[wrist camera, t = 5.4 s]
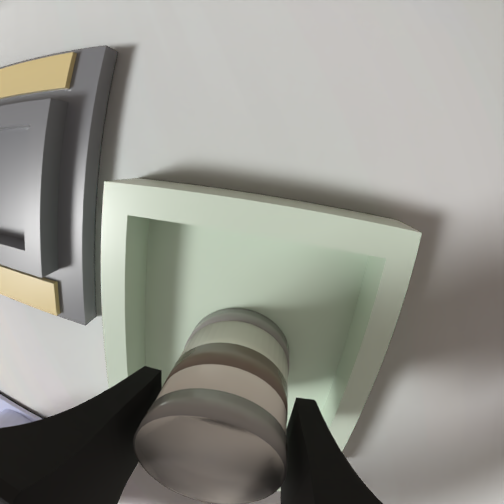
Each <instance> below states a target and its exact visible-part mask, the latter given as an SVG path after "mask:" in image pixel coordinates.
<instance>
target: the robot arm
mask: <svg viewBox="0 0 504 504" xmlns="http://www.w3.org/2000/svg"><path fill="white" fill-rule="evenodd" d="M161 389H162V370H158V369H155V368H151V367H147V366H144V367H142V368H141V369H139V370H137V371H136V372H134V373H133V374H131V375H130V376H128V377H127V378H125V379H124V380H122V381H121V382H119V383H117V384H116V385H114V386H112V387H111V388H109V389H108V390H106V391H104V392H102V393H101V394H99V395H97V396H96V397H94V398H92V399H90V400H88V401H86V402H84V403H82V404H80V405H78V406H76V407H74V408H72V409H69V410H67V411H64V412H62V413H59V414H56V415H54V416H51V417H48V418H44V419H42V418H40V417H38V416H36V415H35V414H33V413H31V412H29V411H27V410H26V409H24V408H22V407H20V406H19V405H17V404H15V403H14V402H12V401H10V400H9V399H7V398H6V397H4V396H2V395H1V394H0V504H117V503H118V501H119V499H120V496H121V494H122V491H123V489H124V487H125V485H126V483H127V481H128V479H129V477H130V476H131V474H132V472H133V470H134V469H135V467H136V465H137V463H138V459H137V457H136V455H135V452H134V448H133V439H134V435H135V433H136V431H137V429H138V427H139V425H140V424H141V422H142V420H143V418H144V416H145V415H146V413H147V411H148V409H149V408H150V406H151V405H152V404H153V402H154V401H155V400H156V399H157V397H158V395H159V393H160V391H161ZM286 437H287V442H288V448H287V472H286V478H285V481H284V483H283V484H282V486H281V504H383V503H382V502H381V501H380V500H379V499H378V498H377V497H376V496H375V495H374V494H373V493H372V492H371V491H370V490H369V489H368V487H367V486H366V485H365V484H364V483H363V481H362V480H361V479H360V478H359V476H358V475H357V474H356V472H355V471H354V470H353V468H352V467H351V465H350V464H349V462H348V461H347V459H346V458H345V456H344V455H343V453H342V451H341V450H340V448H339V446H338V445H337V443H336V441H335V439H334V438H333V436H332V434H331V432H330V430H329V428H328V426H327V424H326V422H325V420H324V418H323V416H322V414H321V412H320V409H319V407H318V405H317V402H316V401H315V400H313V399H305V398H297V397H296V400H295V403H294V406H293V410H292V413H291V416H290V419H289V422H288V425H287V428H286Z"/></svg>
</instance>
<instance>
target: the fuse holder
mask: <svg viewBox="0 0 504 504" xmlns="http://www.w3.org/2000/svg"><path fill="white" fill-rule="evenodd" d="M117 53H118V52H117V51H115V50H113V49H112V48H110V47H108V46H98V47H91V48H84V49H78V50H72V51H67V52H62V53H57V54H52V55H47V56H42V57H38V58H34V59H30V60H26V61H22V62H18V63H15V64H11V65H8V66H4V67H1V68H0V294H2V295H4V296H7V297H9V298H12V299H14V300H17V301H19V302H22V303H24V304H27V305H29V306H32V307H34V308H37V309H40V310H42V311H45V312H48V313H50V314H53V315H56V316H59V317H62V318H65V319H68V320H71V321H74V322H77V323H80V324H83V325H87V324H88V323H89V322H90V321H91V320H93V319H94V318H95V317H96V303H95V269H94V248H95V214H96V196H97V182H98V171H99V161H100V152H101V143H102V136H103V128H104V121H105V115H106V109H107V103H108V97H109V92H110V86H111V81H112V76H113V71H114V67H115V62H116V58H117Z"/></svg>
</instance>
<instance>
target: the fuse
mask: <svg viewBox="0 0 504 504" xmlns="http://www.w3.org/2000/svg"><path fill="white" fill-rule="evenodd" d="M288 375H289V345H288V342H287V339H286V337H285V335H284V333H283V332H282V330H281V329H280V328H279V327H278V326H277V325H276V324H275V323H274V322H273V321H272V320H270V319H269V318H268V317H266V316H264V315H262V314H260V313H258V312H255V311H252V310H249V309H243V308H226V309H221V310H218V311H215V312H213V313H211V314H209V315H207V316H206V317H204V318H203V319H202V320H201V321H200V322H199V323H198V324H197V325H196V327H195V328H194V330H193V332H192V333H191V335H190V337H189V339H188V340H187V342H186V344H185V347H184V350H183V352H182V354H181V356H180V357H179V359H178V361H177V362H176V363H175V365H174V367H173V369H172V370H171V372H170V374H169V376H168V378H167V379H166V381H165V383H164V385H163V387H162V389H161V391H160V393H159V395H158V397H157V399H156V400H155V401H154V402H153V404H152V405H151V406H150V408H149V409H148V411H147V413H146V415H145V416H144V418H143V420H142V422H141V424H140V425H139V427H138V429H137V431H136V433H135V435H134V439H133V448H134V452H135V455H136V457H137V459H138V461H139V463H140V464H141V465H142V467H143V468H144V469H145V470H146V471H147V472H148V474H149V475H151V476H152V477H153V478H154V479H155V480H157V481H158V482H159V483H161V484H162V485H164V486H165V487H167V488H169V489H170V490H172V491H174V492H176V493H179V494H181V495H183V496H186V497H189V498H192V499H195V500H199V501H202V502H207V503H214V504H246V503H251V502H255V501H258V500H261V499H264V498H266V497H268V496H270V495H272V494H273V493H274V492H276V491H277V490H278V489H279V488H280V487H281V486H282V484H283V483H284V481H285V478H286V472H287V448H288V442H287V437H286V425H287V415H288Z"/></svg>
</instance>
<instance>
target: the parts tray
mask: <svg viewBox="0 0 504 504" xmlns="http://www.w3.org/2000/svg"><path fill="white" fill-rule="evenodd" d="M421 235H422V233H421V232H419V231H417V230H416V229H414V228H412V227H410V226H408V225H406V224H404V223H402V222H400V221H398V220H394V219H390V218H385V217H380V216H376V215H371V214H366V213H361V212H356V211H351V210H346V209H341V208H336V207H330V206H325V205H320V204H314V203H308V202H303V201H297V200H291V199H285V198H279V197H273V196H267V195H261V194H255V193H248V192H242V191H235V190H228V189H221V188H214V187H207V186H199V185H192V184H184V183H176V182H167V181H159V180H150V179H141V178H132V179H122V180H113V181H104V190H103V205H102V225H101V304H102V323H103V338H104V350H105V361H106V370H107V379H108V387H109V388H111V387H112V386H114V385H116V384H117V383H119V382H121V381H122V380H124V379H125V378H127V377H128V376H130V375H131V374H133V373H134V372H136V371H137V370H139V369H141V368H142V367H144V366H147V367H151V368H155V369H158V370H162V387H163V385H164V383H165V381H166V379H167V378H168V376H169V374H170V372H171V370H172V369H173V367H174V365H175V363H176V362H177V361H178V359H179V357H180V356H181V354H182V352H183V350H184V347H185V344H186V342H187V340H188V339H189V337H190V335H191V333H192V332H193V330H194V328H195V327H196V325H197V324H198V323H199V322H200V321H201V320H202V319H203V318H204V317H206V316H207V315H209V314H211V313H213V312H215V311H218V310H221V309H226V308H243V309H249V310H252V311H255V312H258V313H260V314H262V315H264V316H266V317H268V318H269V319H270V320H272V321H273V322H274V323H275V324H276V325H277V326H278V327H279V328H280V329H281V330H282V332H283V333H284V335H285V337H286V339H287V342H288V345H289V375H288V415H287V425H288V422H289V419H290V416H291V413H292V410H293V406H294V403H295V400H296V397H297V398H305V399H313V400H315V401H316V402H317V405H318V407H319V409H320V412H321V414H322V416H323V418H324V420H325V422H326V424H327V426H328V428H329V430H330V432H331V434H332V436H333V438H334V439H335V441H336V443H337V445H338V446H339V448H340V450H341V451H343V449H344V447H345V445H346V443H347V441H348V439H349V437H350V435H351V433H352V431H353V429H354V427H355V425H356V423H357V421H358V419H359V416H360V414H361V412H362V410H363V408H364V405H365V403H366V401H367V399H368V396H369V394H370V392H371V389H372V387H373V385H374V382H375V380H376V377H377V375H378V372H379V370H380V367H381V365H382V362H383V360H384V357H385V354H386V352H387V349H388V346H389V343H390V341H391V338H392V335H393V332H394V329H395V326H396V323H397V320H398V317H399V314H400V311H401V308H402V305H403V302H404V298H405V295H406V292H407V288H408V285H409V281H410V278H411V274H412V271H413V267H414V263H415V259H416V255H417V251H418V247H419V243H420V239H421ZM287 425H286V428H287ZM277 491H281V487H280V488H279V489H278V490H277Z"/></svg>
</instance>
